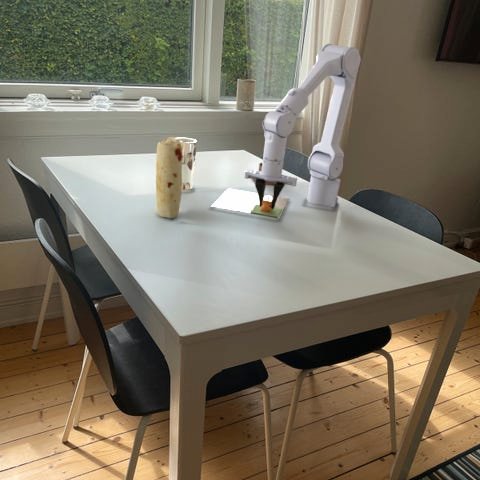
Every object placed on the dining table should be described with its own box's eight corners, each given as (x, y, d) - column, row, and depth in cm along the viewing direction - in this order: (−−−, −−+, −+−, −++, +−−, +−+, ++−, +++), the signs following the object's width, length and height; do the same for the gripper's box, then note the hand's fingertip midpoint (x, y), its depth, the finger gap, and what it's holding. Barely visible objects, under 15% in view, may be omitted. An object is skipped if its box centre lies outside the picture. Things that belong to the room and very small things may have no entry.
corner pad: (282, 209, 143) (282, 208, 143) (277, 217, 136) (277, 216, 136) (255, 204, 144) (255, 203, 144) (250, 212, 137) (250, 211, 137)
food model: (184, 221, 129) (187, 143, 118) (159, 221, 127) (160, 142, 116) (177, 208, 137) (179, 134, 126) (153, 208, 135) (154, 133, 124)
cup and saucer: (285, 189, 164) (288, 171, 160) (250, 186, 163) (252, 167, 160) (283, 180, 174) (286, 162, 171) (250, 176, 173) (252, 159, 170)
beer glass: (196, 187, 155) (198, 139, 148) (192, 194, 149) (194, 143, 142) (174, 185, 156) (176, 136, 148) (170, 191, 150) (171, 140, 142)
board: (288, 201, 153) (289, 198, 152) (278, 221, 136) (279, 218, 135) (227, 191, 156) (228, 188, 155) (210, 209, 139) (210, 206, 138)
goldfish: (264, 205, 143) (265, 192, 141) (273, 207, 142) (275, 194, 140) (259, 212, 137) (261, 198, 135) (269, 214, 137) (271, 200, 135)
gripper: (244, 157, 130) (239, 206, 137) (297, 166, 128) (289, 215, 135) (250, 152, 136) (244, 199, 143) (300, 160, 134) (293, 208, 141)
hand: (266, 206), depth 139 cm, fingers closed on goldfish, 3 cm apart
